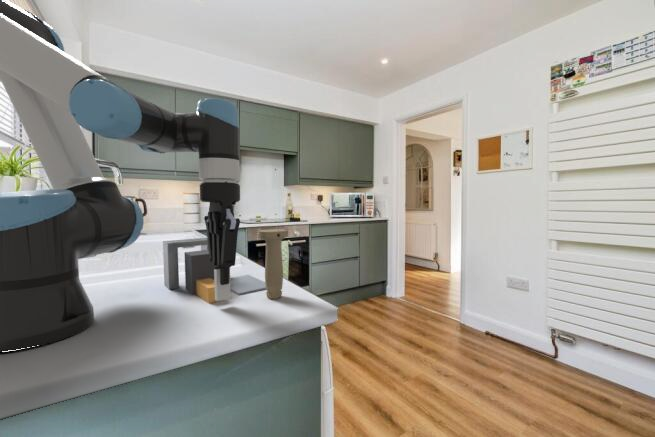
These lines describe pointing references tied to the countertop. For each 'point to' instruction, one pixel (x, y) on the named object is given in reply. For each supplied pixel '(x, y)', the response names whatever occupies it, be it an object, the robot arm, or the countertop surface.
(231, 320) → the countertop surface
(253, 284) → the mat
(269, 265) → the handle
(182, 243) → the housing
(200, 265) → the grey and tan block
